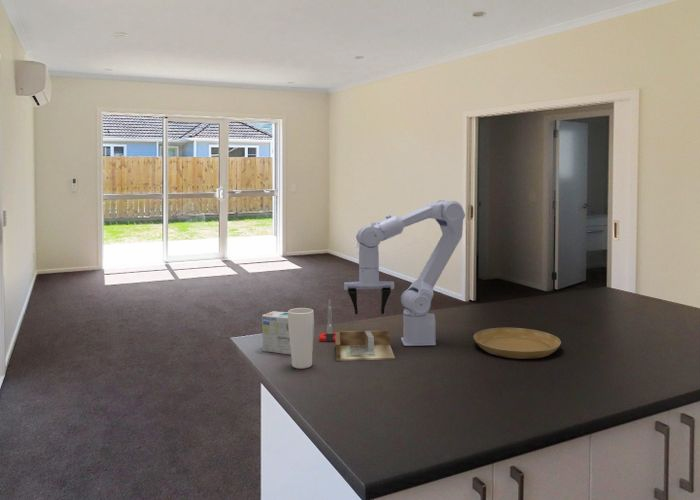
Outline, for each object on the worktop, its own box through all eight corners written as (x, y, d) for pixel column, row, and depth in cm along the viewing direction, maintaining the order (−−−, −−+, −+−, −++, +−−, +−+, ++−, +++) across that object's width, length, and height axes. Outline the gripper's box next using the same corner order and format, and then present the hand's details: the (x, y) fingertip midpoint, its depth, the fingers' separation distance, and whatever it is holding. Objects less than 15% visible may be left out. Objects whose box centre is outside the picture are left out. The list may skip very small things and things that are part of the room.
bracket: (374, 354, 159) (373, 337, 158) (352, 355, 158) (352, 338, 157) (370, 347, 166) (370, 330, 165) (349, 348, 165) (349, 331, 164)
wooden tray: (389, 343, 170) (389, 330, 170) (394, 357, 156) (394, 343, 156) (335, 344, 170) (335, 331, 169) (336, 358, 156) (335, 344, 155)
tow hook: (321, 335, 184) (315, 342, 175) (321, 295, 183) (315, 300, 174) (347, 336, 183) (343, 342, 173) (347, 296, 182) (342, 300, 173)
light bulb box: (305, 349, 167) (305, 313, 166) (294, 355, 161) (293, 318, 160) (274, 345, 172) (273, 310, 170) (262, 351, 165) (260, 314, 164)
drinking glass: (318, 363, 154) (317, 308, 152) (308, 371, 147) (307, 314, 146) (295, 361, 156) (294, 307, 154) (284, 368, 149) (283, 312, 148)
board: (389, 345, 170) (389, 343, 170) (394, 359, 156) (394, 357, 156) (335, 346, 170) (335, 344, 170) (336, 360, 156) (336, 358, 156)
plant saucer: (567, 364, 151) (567, 352, 151) (473, 360, 156) (474, 348, 156) (553, 339, 175) (554, 329, 174) (473, 336, 179) (473, 326, 179)
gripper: (392, 265, 170) (392, 309, 172) (343, 265, 170) (344, 310, 172) (395, 268, 163) (395, 315, 165) (344, 269, 163) (344, 316, 165)
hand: (369, 313), depth 168 cm, fingers open, 7 cm apart
